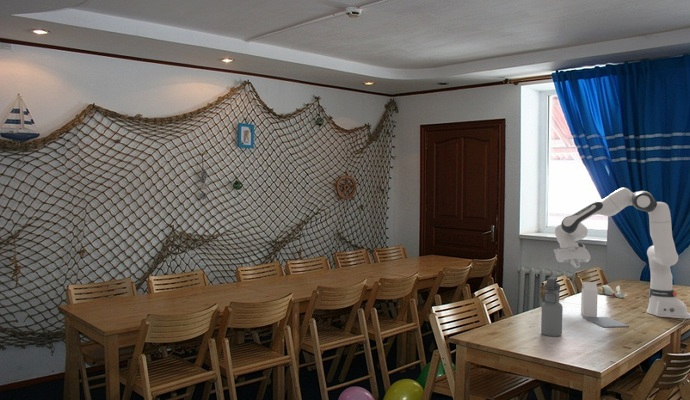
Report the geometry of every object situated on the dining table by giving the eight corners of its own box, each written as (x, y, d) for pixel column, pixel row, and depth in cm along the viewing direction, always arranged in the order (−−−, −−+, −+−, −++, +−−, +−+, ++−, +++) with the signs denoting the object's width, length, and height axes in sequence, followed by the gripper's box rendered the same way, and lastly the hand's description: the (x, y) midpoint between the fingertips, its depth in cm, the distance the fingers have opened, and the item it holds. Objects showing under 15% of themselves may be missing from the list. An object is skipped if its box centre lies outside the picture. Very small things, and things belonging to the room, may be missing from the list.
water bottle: (559, 338, 289) (560, 280, 288) (538, 335, 294) (539, 278, 293) (563, 333, 298) (565, 277, 297) (543, 330, 303) (544, 275, 302)
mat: (583, 318, 330) (583, 317, 330) (606, 317, 332) (606, 316, 332) (603, 327, 310) (603, 326, 310) (628, 326, 312) (628, 325, 312)
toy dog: (622, 299, 384) (622, 285, 384) (593, 294, 398) (593, 281, 397) (629, 296, 393) (630, 283, 392) (601, 292, 406) (601, 279, 406)
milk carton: (596, 317, 333) (597, 283, 332) (583, 316, 334) (584, 282, 333) (594, 314, 340) (595, 281, 339) (581, 313, 341) (581, 280, 340)
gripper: (554, 245, 354) (562, 264, 345) (586, 244, 357) (595, 263, 348) (550, 251, 359) (558, 270, 350) (582, 251, 362) (591, 269, 353)
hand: (577, 267), depth 349 cm, fingers closed
